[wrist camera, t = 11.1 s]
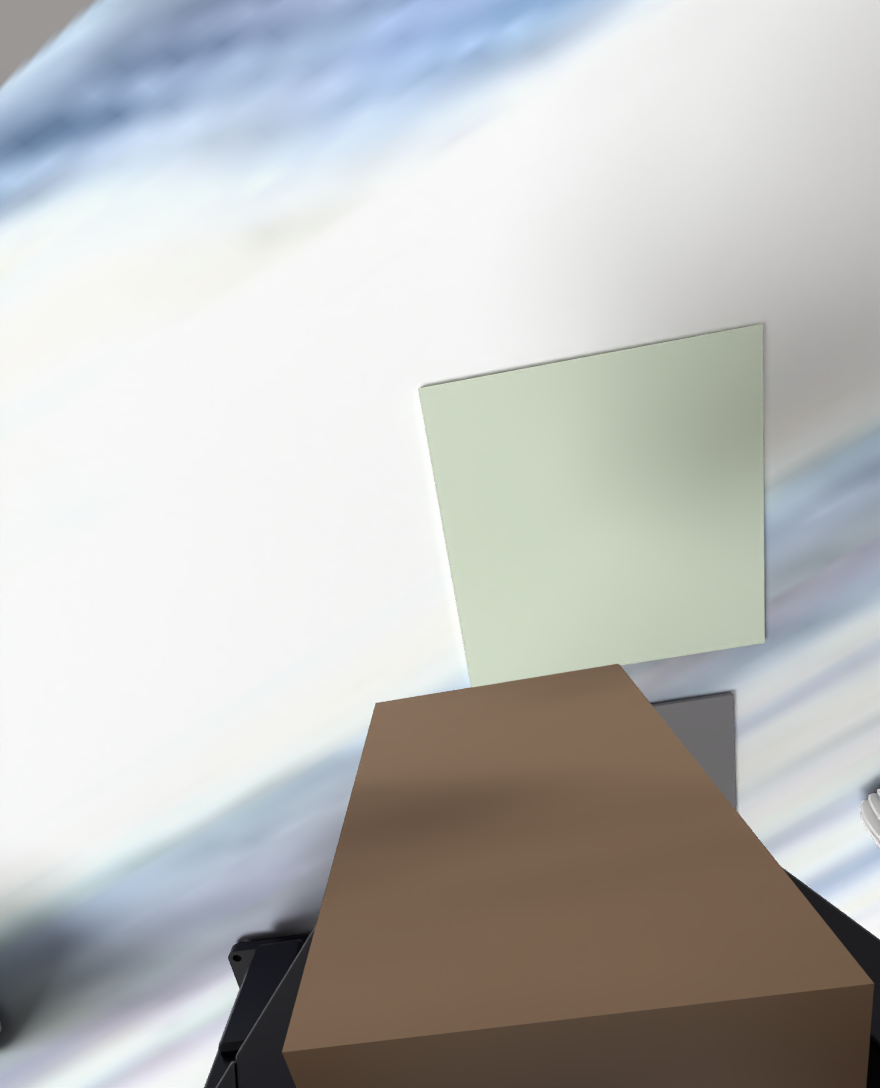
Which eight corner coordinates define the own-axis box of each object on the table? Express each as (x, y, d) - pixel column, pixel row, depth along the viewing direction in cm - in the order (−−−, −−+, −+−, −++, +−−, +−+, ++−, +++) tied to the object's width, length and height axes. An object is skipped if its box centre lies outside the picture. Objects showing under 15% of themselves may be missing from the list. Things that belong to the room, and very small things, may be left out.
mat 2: (735, 869, 22) (737, 873, 22) (535, 896, 23) (536, 900, 23) (730, 692, 20) (733, 694, 20) (508, 726, 20) (509, 728, 20)
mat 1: (761, 640, 19) (764, 642, 19) (471, 686, 20) (471, 688, 20) (759, 325, 16) (763, 323, 16) (418, 388, 17) (417, 388, 17)
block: (638, 858, 9) (849, 1309, 4) (423, 887, 10) (401, 1341, 5) (618, 663, 8) (875, 983, 3) (375, 703, 8) (281, 1051, 4)
